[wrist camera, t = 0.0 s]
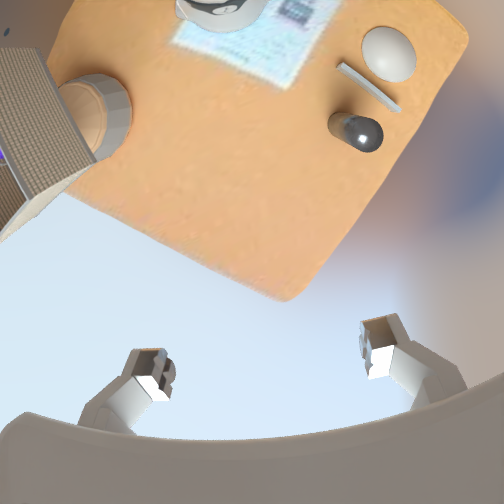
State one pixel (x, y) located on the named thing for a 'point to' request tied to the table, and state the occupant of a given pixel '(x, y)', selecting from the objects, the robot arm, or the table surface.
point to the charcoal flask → (356, 131)
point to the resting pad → (388, 54)
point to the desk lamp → (51, 132)
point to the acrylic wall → (368, 87)
